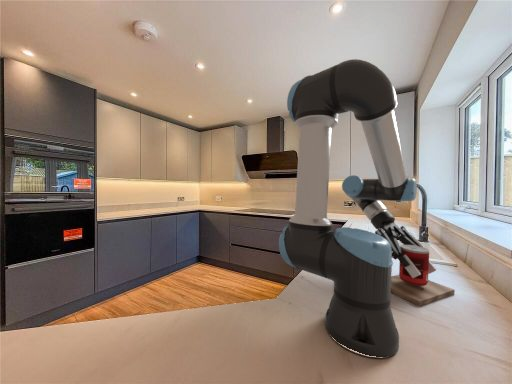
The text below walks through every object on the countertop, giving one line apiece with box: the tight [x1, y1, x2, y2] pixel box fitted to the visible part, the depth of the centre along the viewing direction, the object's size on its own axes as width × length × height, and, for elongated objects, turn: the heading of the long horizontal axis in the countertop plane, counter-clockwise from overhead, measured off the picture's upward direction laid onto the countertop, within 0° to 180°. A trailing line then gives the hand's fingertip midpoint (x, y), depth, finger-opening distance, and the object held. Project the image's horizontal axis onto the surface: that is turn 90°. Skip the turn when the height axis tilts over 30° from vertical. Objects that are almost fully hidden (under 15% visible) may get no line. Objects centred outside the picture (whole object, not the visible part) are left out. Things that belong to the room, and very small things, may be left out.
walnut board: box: [391, 274, 456, 307], centre depth 69 cm, size 18×14×2 cm
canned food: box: [398, 244, 430, 286], centre depth 69 cm, size 8×8×11 cm
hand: (425, 273), depth 66 cm, fingers closed on canned food, 8 cm apart
